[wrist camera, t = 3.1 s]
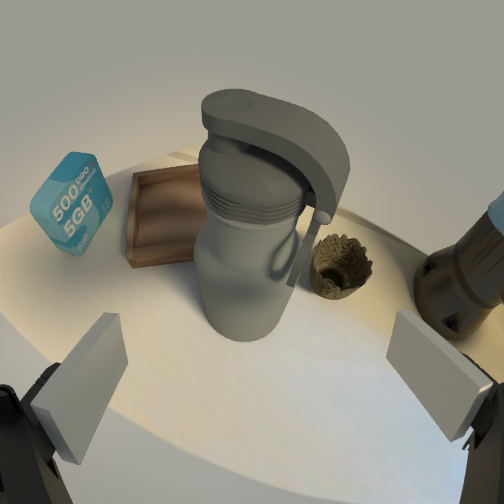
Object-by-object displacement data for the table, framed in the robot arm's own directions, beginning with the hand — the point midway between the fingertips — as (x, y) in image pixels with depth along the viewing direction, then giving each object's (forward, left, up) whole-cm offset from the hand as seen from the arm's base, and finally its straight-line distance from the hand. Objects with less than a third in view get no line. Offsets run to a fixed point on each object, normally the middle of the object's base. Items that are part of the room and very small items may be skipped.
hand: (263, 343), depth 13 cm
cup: (+11, -13, -23) cm, 29 cm away
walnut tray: (+26, +5, -23) cm, 35 cm away
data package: (+27, +22, -23) cm, 42 cm away
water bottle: (+10, -2, -23) cm, 26 cm away
